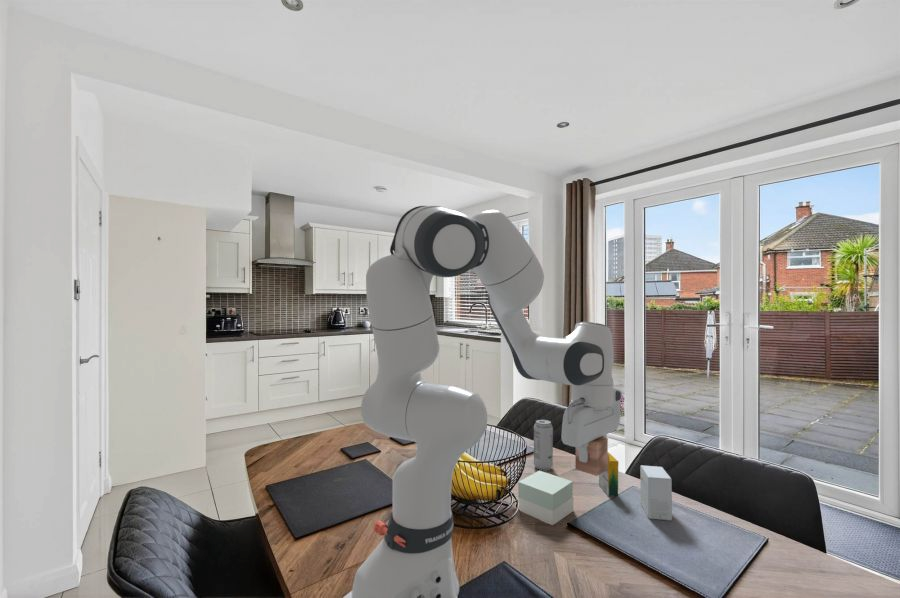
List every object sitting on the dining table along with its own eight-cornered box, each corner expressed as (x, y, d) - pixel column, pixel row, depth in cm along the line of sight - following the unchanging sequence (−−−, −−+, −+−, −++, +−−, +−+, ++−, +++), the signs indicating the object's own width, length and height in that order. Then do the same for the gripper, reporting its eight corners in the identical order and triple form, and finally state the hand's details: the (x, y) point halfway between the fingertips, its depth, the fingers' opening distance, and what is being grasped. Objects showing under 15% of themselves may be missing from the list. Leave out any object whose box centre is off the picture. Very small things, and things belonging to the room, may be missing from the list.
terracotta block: (596, 476, 89) (597, 443, 89) (575, 469, 92) (575, 437, 92) (607, 469, 92) (607, 438, 92) (586, 463, 96) (586, 433, 96)
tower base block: (552, 527, 101) (552, 510, 101) (518, 512, 108) (518, 496, 108) (573, 512, 108) (573, 497, 108) (540, 499, 115) (540, 484, 115)
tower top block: (552, 511, 101) (552, 494, 101) (518, 497, 108) (518, 481, 108) (572, 496, 108) (572, 481, 108) (539, 484, 115) (539, 470, 115)
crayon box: (618, 496, 116) (618, 454, 116) (608, 496, 116) (608, 454, 116) (608, 484, 123) (608, 445, 123) (598, 484, 123) (598, 445, 123)
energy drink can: (553, 472, 132) (553, 424, 132) (534, 470, 133) (534, 424, 133) (551, 464, 138) (551, 419, 138) (533, 463, 139) (533, 418, 139)
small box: (672, 521, 103) (672, 479, 103) (647, 519, 104) (648, 477, 104) (662, 505, 111) (662, 466, 111) (640, 503, 112) (640, 464, 112)
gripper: (581, 405, 83) (581, 474, 83) (625, 391, 97) (625, 450, 97) (554, 399, 88) (553, 465, 87) (599, 387, 102) (599, 444, 102)
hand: (591, 457), depth 92 cm, fingers closed on terracotta block, 5 cm apart
